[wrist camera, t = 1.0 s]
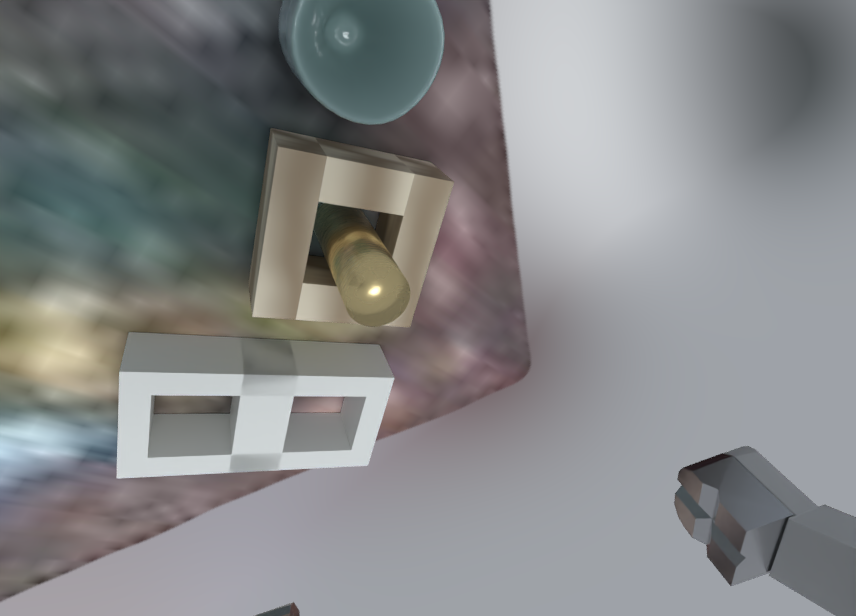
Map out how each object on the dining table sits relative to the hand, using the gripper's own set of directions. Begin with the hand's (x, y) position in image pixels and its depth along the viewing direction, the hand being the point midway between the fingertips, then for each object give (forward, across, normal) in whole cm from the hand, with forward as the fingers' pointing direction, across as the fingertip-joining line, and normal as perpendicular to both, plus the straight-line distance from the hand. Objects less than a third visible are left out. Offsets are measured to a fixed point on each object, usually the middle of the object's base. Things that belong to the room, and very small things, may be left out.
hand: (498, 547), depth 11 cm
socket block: (+33, +1, +5) cm, 33 cm away
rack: (+33, +11, +18) cm, 39 cm away
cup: (+33, -2, -8) cm, 34 cm away
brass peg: (+33, +1, +5) cm, 33 cm away
